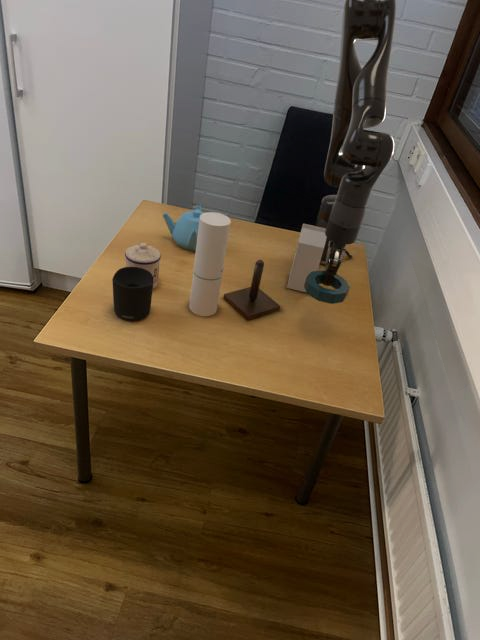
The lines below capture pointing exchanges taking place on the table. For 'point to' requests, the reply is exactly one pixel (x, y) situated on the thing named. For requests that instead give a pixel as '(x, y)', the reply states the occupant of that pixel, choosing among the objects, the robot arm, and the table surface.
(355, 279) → the table surface
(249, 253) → the table surface
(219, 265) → the cylindrical container
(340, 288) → the ring
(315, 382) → the table surface
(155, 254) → the teacup with lid
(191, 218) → the teapot
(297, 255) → the milk carton
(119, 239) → the table surface
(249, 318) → the stand
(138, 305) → the pen holder
